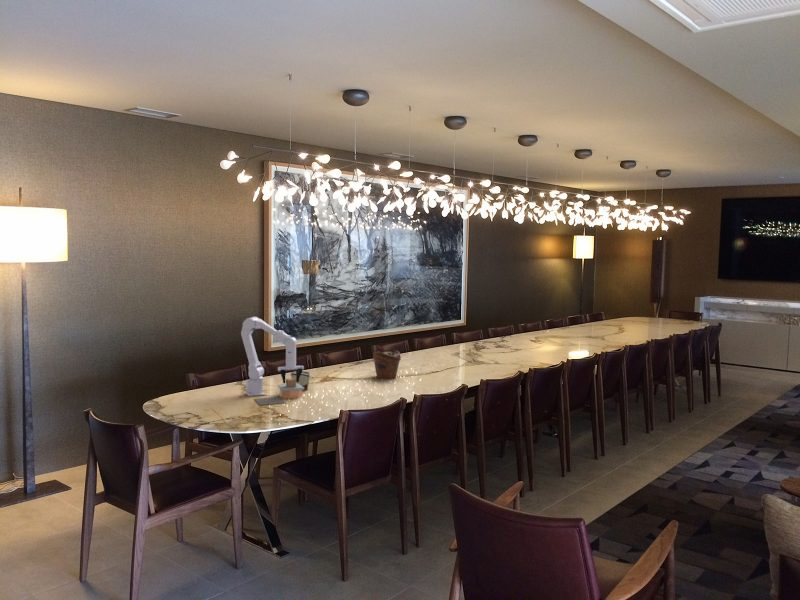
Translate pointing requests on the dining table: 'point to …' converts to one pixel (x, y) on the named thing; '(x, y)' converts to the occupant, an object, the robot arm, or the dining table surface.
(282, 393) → the bowl
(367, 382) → the dining table surface
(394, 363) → the brown pot
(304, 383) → the food container
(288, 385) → the lid
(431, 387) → the dining table surface
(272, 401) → the mat
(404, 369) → the dining table surface
